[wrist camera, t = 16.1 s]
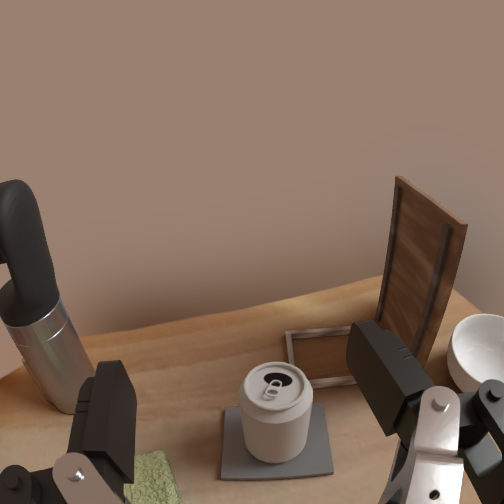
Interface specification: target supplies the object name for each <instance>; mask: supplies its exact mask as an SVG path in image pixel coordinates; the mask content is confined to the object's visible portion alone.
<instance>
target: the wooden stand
mask: <svg viewBox="0 0 504 504" xmlns="http://www.w3.org/2000/svg"><path fill="white" fill-rule="evenodd" d="M467 227H468V224H467V223H466V222H465V221H463V220H462V219H461V218H460V217H458V216H457V215H456V214H454V213H453V212H451V211H450V210H449V209H448V208H446V207H445V206H444V205H442V204H441V203H440V202H438V201H437V200H435V199H434V198H433V197H431V196H430V195H428V194H427V193H426V192H424V191H423V190H421V189H420V188H418V187H417V186H416V185H414V184H413V183H411V182H410V181H408V180H407V179H405V178H404V177H402V176H396V177H395V188H394V199H393V209H392V218H391V226H390V234H389V242H388V249H387V255H386V262H385V268H384V274H383V280H382V285H381V291H380V296H379V302H378V307H377V312H376V316H375V317H376V320H377V322H378V323H379V326H380V328H381V330H382V331H383V330H386V329H387V330H389V331H391V332H392V333H394V334H395V335H397V336H398V337H399V338H400V339H401V340H402V341H403V343H404V344H405V345H406V348H408V349H409V350H410V352H411V353H412V356H414V357H415V358H416V360H417V361H418V362H419V363H420V365H421V366H422V367H423V369H424V366H425V364H426V361H427V359H428V356H429V354H430V351H431V349H432V346H433V344H434V341H435V338H436V336H437V333H438V330H439V327H440V324H441V322H442V319H443V316H444V313H445V310H446V307H447V304H448V300H449V297H450V294H451V291H452V287H453V284H454V280H455V277H456V273H457V269H458V265H459V262H460V258H461V254H462V250H463V245H464V241H465V236H466V232H467ZM350 328H351V326H342V327H330V328H318V329H304V330H286V331H285V339H286V344H287V353H288V362H289V364H292V365H294V366H295V361H294V354H293V346H292V339H296V338H310V337H323V336H335V335H345V334H350ZM308 381H309V382H310V384H311V387H312V389H315V388H325V387H335V386H344V385H352V384H357V383H356V381H355V379H354V378H353V376H352V375H350V376H342V377H333V378H323V379H311V380H308Z"/></svg>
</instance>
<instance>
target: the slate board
mask: <svg viewBox="0 0 504 504" xmlns="http://www.w3.org/2000/svg"><path fill="white" fill-rule="evenodd" d="M333 473H334V469H333V462H332V456H331V450H330V444H329V438H328V432H327V426H326V420H325V414H324V409H323V403H322V402H315V403H312V407H311V414H310V421H309V427H308V434H307V440H306V444H305V446H304V448H303V450H302V451H301V452H300V453H299V454H298V455H297V456H296V457H294V458H293V459H291V460H289V461H286V462H281V463H268V462H264V461H262V460H259V459H257V458H256V457H254V456H253V455H252V454H251V453H250V452H249V450H248V449H247V447H246V444H245V439H244V432H243V426H242V420H241V413H240V407H225V421H224V436H223V451H222V466H221V480H236V481H246V480H278V479H294V478H305V477H315V476H324V475H331V474H333Z"/></svg>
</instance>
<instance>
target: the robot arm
mask: <svg viewBox="0 0 504 504" xmlns="http://www.w3.org/2000/svg"><path fill="white" fill-rule="evenodd" d="M4 263H7V265H8V268H9V271H10V274H11V278H12V279H11V280H9V281H8V282H7V283H6V284H5V285H4V286H3V287H2V288H1V289H0V317H1V319H2V321H3V322H4V324H5V326H6V328H7V330H8V332H9V334H10V336H11V337H12V339H13V341H14V343H15V344H16V346H17V348H18V350H19V351H20V353H21V355H22V356H23V359H22V362H23V364H24V366H25V367H26V369H27V370H28V372H29V373H30V375H31V376H32V378H33V380H34V381H35V383H36V384H37V386H38V387H39V388H40V390H41V391H42V393H43V394H44V396H45V397H46V398H47V400H48V401H49V402H51V403H53V404H54V405H55V406H56V408H57V409H58V410H60V411H61V412H63V413H66V414H74V418H73V423H72V428H71V434H70V439H69V445H68V450H67V453H66V454H65V455H63V456H61V457H60V458H59V459H58V460H57V461H56V462H55V464H54V467H52V468H49V469H44V470H40V471H35V472H29V471H27V470H26V469H25V468H24V467H22V466H20V465H11V466H8V467H6V468H5V469H4V470H3V471H2V472H1V474H0V504H132V503H131V502H130V501H129V500H128V498H127V497H126V496H125V495H124V484H134V456H135V427H136V409H137V400H136V394H135V390H134V387H133V385H132V383H131V381H130V379H129V377H128V375H127V372H126V370H125V368H124V366H123V364H122V362H121V361H120V360H114V361H100V362H99V363H98V365H97V369H96V371H95V370H94V368H93V366H92V363H91V362H90V360H89V358H88V356H87V354H86V351H85V349H84V347H83V345H82V343H81V341H80V339H79V337H78V335H77V333H76V330H75V328H74V326H73V324H72V321H71V319H70V317H69V314H68V312H67V310H66V307H65V305H64V303H63V300H62V298H61V295H60V293H59V290H58V288H57V284H56V279H55V273H54V267H53V263H52V259H51V256H50V252H49V249H48V245H47V241H46V237H45V233H44V229H43V224H42V220H41V216H40V212H39V208H38V205H37V201H36V199H35V196H34V194H33V192H32V190H31V189H30V187H29V186H28V185H27V184H26V183H25V182H23V181H21V180H10V181H6V182H3V183H0V264H4ZM346 362H347V366H348V368H349V370H350V372H351V374H352V376H353V378H354V379H355V381H356V383H357V385H358V386H359V388H360V390H361V392H362V394H363V395H364V397H365V399H366V401H367V403H368V404H369V406H370V408H371V410H372V412H373V413H374V415H375V417H376V419H377V421H378V423H379V424H380V426H381V428H382V430H383V432H384V433H385V435H386V437H387V436H389V435H392V434H394V433H397V434H398V436H399V438H400V439H399V440H398V444H397V448H396V452H395V456H394V460H393V464H392V468H391V471H390V475H389V479H388V482H387V485H386V488H385V490H384V492H383V494H382V496H381V498H380V500H379V503H378V504H458V501H459V495H460V488H461V481H462V474H463V468H464V470H465V471H466V473H467V475H468V477H469V479H470V481H471V483H472V485H473V487H474V489H475V491H476V493H477V495H478V497H479V499H480V501H481V503H482V504H504V383H503V382H501V381H499V380H495V379H489V380H486V381H484V382H483V383H482V384H481V385H480V387H479V389H478V390H477V391H474V392H468V393H460V394H456V393H455V392H454V391H452V390H451V389H449V388H447V387H443V386H436V385H435V383H434V382H433V381H432V379H431V378H430V377H429V375H428V374H427V373H426V371H425V370H424V369H423V367H422V366H421V365H420V363H419V362H418V361H417V360H416V358H415V357H414V356H412V353H411V352H410V350H409V349H408V348H406V345H405V344H404V343H403V341H402V340H401V339H400V338H399V337H398V336H397V335H395V334H394V333H392V332H391V331H389V330H387V329H386V330H383V331H382V330H381V328H380V327H379V326H378V324H377V323H376V322H375V321H374V320H373V319H369V320H365V321H361V322H357V323H353V324H352V325H351V328H350V334H349V340H348V345H347V351H346ZM488 432H490V434H491V436H492V437H493V439H494V440H495V442H496V444H497V445H498V447H499V449H500V450H501V453H502V456H501V454H500V453H499V451H498V449H497V448H496V446H495V444H494V443H493V441H492V439H491V438H490V436H489V435H488Z"/></svg>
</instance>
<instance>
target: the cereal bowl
mask: <svg viewBox="0 0 504 504" xmlns="http://www.w3.org/2000/svg"><path fill="white" fill-rule="evenodd" d="M447 365H448V369H449V372H450V374H451V377H452V379H453V381H454V382H455V384H456V385H457V386H458V388H459V389H460V390H461V391H462V392H463V393H468V392H474V391H477V390H478V389H479V387H480V385H481V384H482V383H483V382H484V381H486V380H489V379H495V380H499V381H501V382H503V383H504V317H501V316H498V315H492V314H476V315H472V316H469V317H467V318H465V319H463V320H462V321H461V322H460V323H458V325H457V326H456V327H455V329H454V331H453V333H452V336H451V339H450V341H449V345H448V352H447Z"/></svg>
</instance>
